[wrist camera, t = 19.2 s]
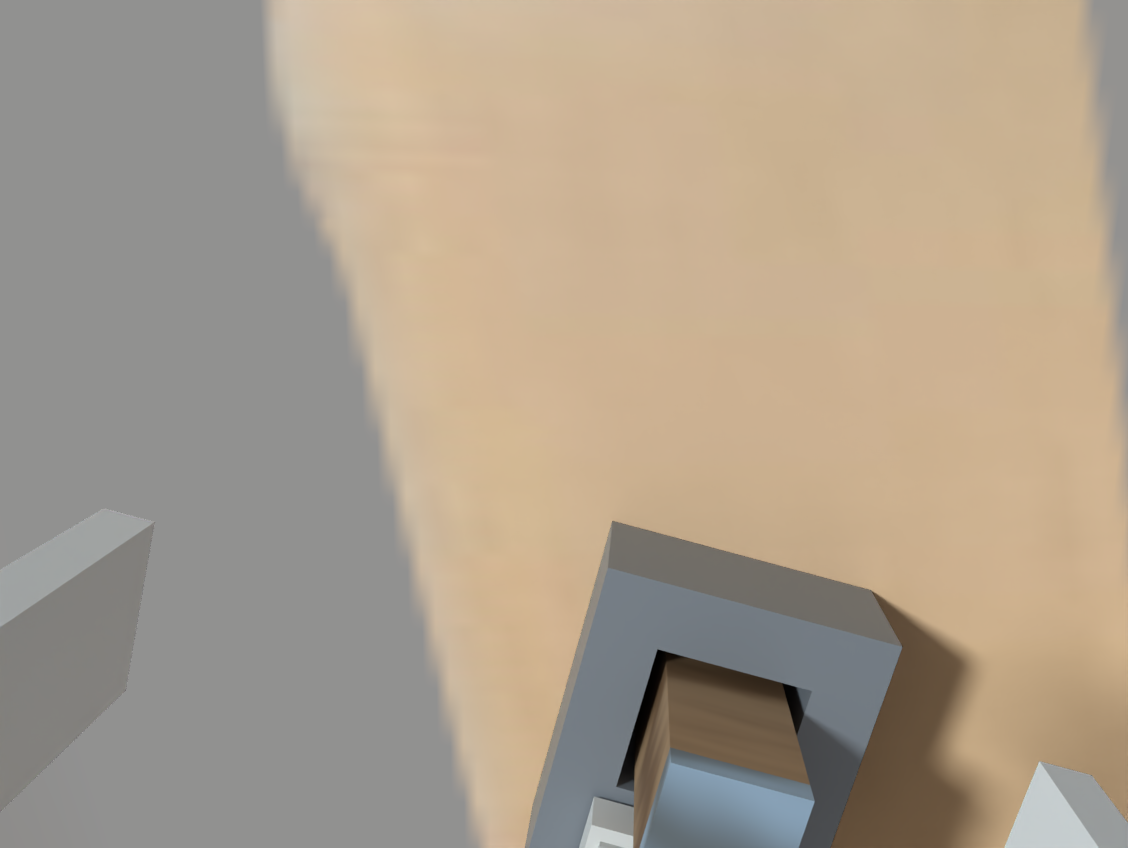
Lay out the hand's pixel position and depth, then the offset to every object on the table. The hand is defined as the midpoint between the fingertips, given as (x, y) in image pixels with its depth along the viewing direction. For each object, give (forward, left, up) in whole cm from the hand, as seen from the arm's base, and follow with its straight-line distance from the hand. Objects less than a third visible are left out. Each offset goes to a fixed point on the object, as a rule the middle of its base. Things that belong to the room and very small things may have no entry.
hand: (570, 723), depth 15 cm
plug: (+13, +7, -31) cm, 34 cm away
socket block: (+14, +8, -32) cm, 36 cm away
